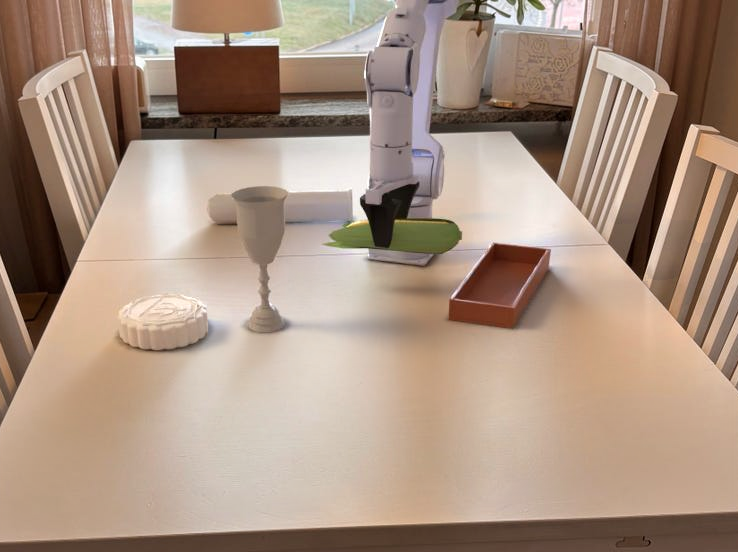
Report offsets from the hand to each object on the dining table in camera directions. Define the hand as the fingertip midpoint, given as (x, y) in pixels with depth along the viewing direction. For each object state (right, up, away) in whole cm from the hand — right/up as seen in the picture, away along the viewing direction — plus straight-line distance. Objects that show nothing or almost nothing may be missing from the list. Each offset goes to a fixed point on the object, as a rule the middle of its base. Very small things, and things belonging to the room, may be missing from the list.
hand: (389, 239), depth 147 cm
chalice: (-17, -13, -5) cm, 22 cm away
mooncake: (-31, -14, -7) cm, 35 cm away
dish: (+16, -7, +3) cm, 18 cm away
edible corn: (0, -1, +1) cm, 2 cm away
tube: (-17, +11, +32) cm, 37 cm away
